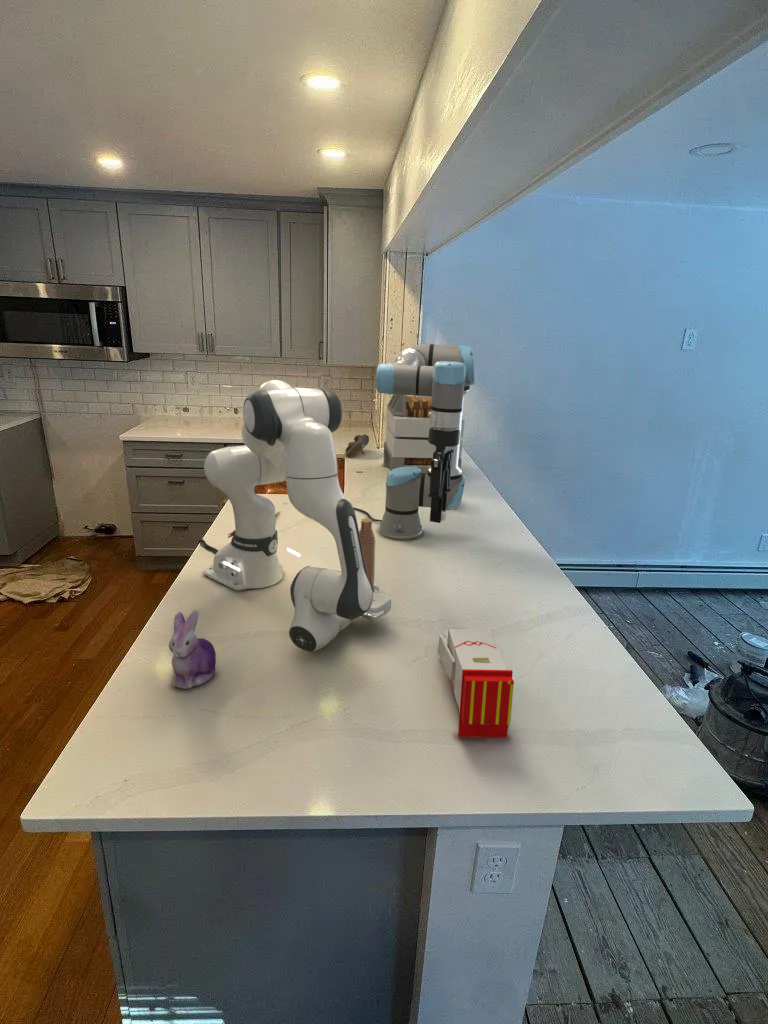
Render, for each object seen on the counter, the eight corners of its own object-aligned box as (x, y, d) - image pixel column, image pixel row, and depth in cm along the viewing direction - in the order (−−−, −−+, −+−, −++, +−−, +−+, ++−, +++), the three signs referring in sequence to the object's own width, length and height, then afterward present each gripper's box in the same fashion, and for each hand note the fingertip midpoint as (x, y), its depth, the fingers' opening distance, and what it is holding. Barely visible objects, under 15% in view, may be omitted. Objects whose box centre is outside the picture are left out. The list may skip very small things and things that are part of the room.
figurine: (175, 696, 113) (169, 631, 108) (168, 668, 121) (161, 606, 116) (223, 684, 117) (219, 621, 112) (213, 658, 126) (208, 598, 120)
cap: (445, 521, 142) (446, 515, 142) (429, 520, 143) (430, 514, 142) (445, 516, 146) (445, 510, 146) (429, 515, 146) (430, 509, 146)
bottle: (359, 614, 146) (362, 524, 138) (351, 605, 150) (353, 518, 142) (375, 610, 149) (379, 522, 140) (367, 602, 153) (370, 515, 144)
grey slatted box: (382, 463, 289) (386, 382, 275) (445, 464, 293) (451, 384, 279) (390, 482, 257) (394, 392, 243) (460, 483, 261) (468, 394, 247)
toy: (488, 613, 130) (523, 677, 101) (484, 667, 133) (517, 744, 104) (435, 612, 130) (455, 676, 101) (432, 666, 133) (451, 743, 103)
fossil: (345, 440, 315) (366, 425, 310) (356, 453, 318) (377, 439, 313) (338, 454, 296) (361, 438, 291) (350, 468, 298) (372, 452, 293)
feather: (286, 506, 225) (288, 502, 225) (268, 529, 199) (271, 525, 198) (282, 503, 225) (284, 499, 225) (264, 526, 199) (267, 522, 198)
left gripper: (377, 608, 131) (402, 584, 143) (303, 586, 139) (332, 566, 151) (376, 631, 133) (401, 606, 145) (303, 609, 142) (332, 587, 153)
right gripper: (438, 421, 145) (431, 507, 153) (420, 432, 130) (413, 527, 138) (467, 424, 143) (459, 511, 151) (452, 436, 128) (443, 532, 136)
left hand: (365, 585), depth 148 cm, fingers closed on bottle, 5 cm apart
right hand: (437, 518), depth 144 cm, fingers closed on cap, 4 cm apart
